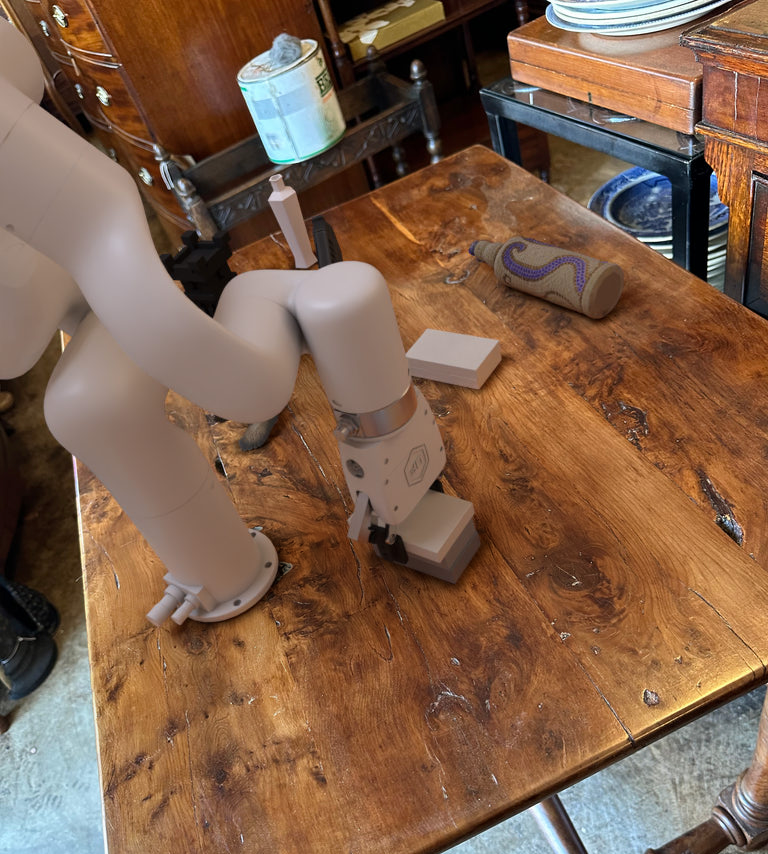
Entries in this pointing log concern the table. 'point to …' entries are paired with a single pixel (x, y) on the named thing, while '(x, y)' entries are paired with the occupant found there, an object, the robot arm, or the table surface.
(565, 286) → the decorative bottle
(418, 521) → the white book
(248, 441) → the eagle figurine
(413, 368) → the white stack
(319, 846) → the table surface
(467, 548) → the grey stack
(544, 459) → the table surface
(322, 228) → the magazine
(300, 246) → the perfume bottle
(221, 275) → the chess piece
